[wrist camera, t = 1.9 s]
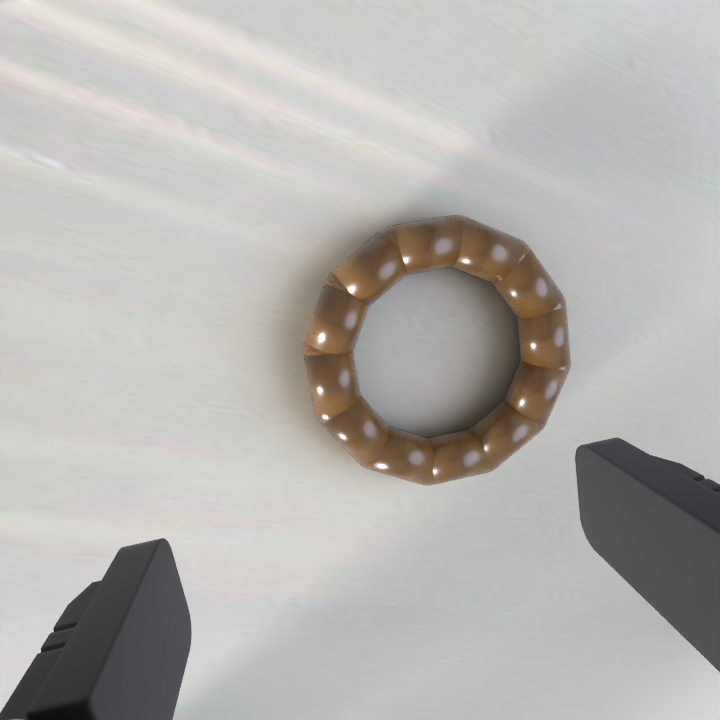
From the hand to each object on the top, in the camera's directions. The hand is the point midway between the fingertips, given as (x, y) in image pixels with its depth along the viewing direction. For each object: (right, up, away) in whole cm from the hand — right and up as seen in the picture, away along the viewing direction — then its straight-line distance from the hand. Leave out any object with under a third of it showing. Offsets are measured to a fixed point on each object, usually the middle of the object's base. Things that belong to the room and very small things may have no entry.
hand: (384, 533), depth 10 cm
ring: (+3, +4, +12) cm, 13 cm away
